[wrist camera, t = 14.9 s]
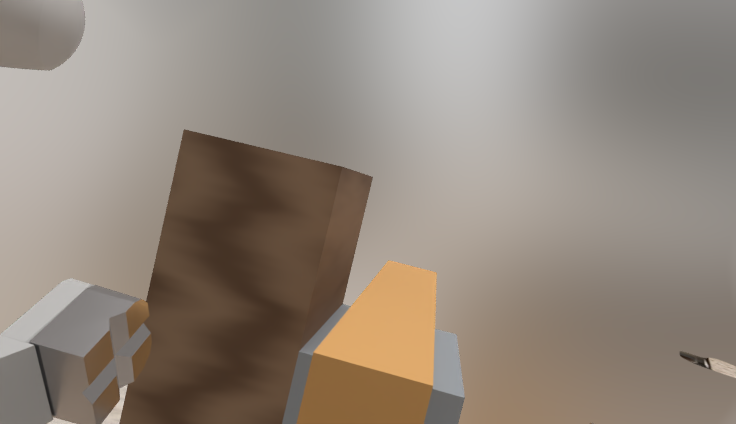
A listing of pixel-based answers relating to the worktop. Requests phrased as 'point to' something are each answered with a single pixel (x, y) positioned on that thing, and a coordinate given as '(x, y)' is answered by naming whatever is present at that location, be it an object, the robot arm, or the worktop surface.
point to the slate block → (445, 379)
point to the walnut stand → (242, 280)
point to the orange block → (377, 355)
